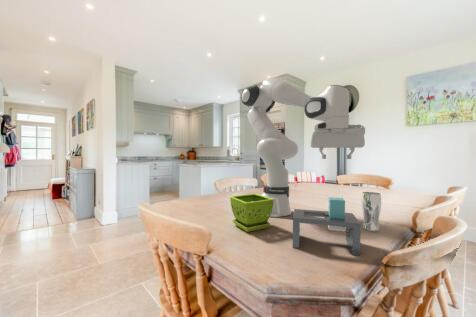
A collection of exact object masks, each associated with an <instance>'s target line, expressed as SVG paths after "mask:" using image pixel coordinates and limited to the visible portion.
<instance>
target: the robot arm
mask: <svg viewBox="0 0 476 317" xmlns="http://www.w3.org/2000/svg"><path fill="white" fill-rule="evenodd" d="M240 95H241V96H240V100H241V103H242V104H243V105H244V106H247V107H251V109H250V110H248V112H247V116H246V117H247V120H248V123H249V125H250V127H251V130H252V131H253V132H254V134H255V135H256V137H257V138H258V140H259V142H258V143H257V145H256V152H257V155H258V157H259V158H260V159H261V160H262V161H263V164H264V166H265V169H266V184H265V185H263V190H262V191H263V192H262V193H261V194H260V195H262V196H265V197H268V198H271V199H273V208H272V212H271V215H270V217H269V218H280V217H286V216H289V215H292V210H291V206H290V198H289V197H290V186H289V171H288V169H287V168H286V167H285V166H284V163H283V160H289V159H292V158H294V157H296V156H297V154H298V151H299V150H298V149H299V147H298V145H297V143H296V142H295V141H294V140H292V139H290V138H288V137H287V136H286V135H285V134H284V133H283V132H282V131H280V129H278V128H277V126H275V124H274V123H273V122H272V120H271V119H270V117H269V116H268V113H270V111H271V110H272V109H273V108H274V106H275V104H276V103H277V104H282V105H286V106H295V107H300V108H303V109H304V112H303V113H304V114H305V116H306V117H307V118H308V119H310V120H315V121H321V122H318V123H316V124H315V125H314V126H313V129H314V130H313V132H312V134H311V140H310V147H311V148H312V149H315V148H316V149H318V151H319V153H320V154H321V159H322V160H326V159H327V154H324V152H323V151H324V149H325V148H327V149H329V148H332V149H334V148H335V149H336V148H337V149H339V148H341V149H342V148H344V149H346V148H347V149H348V148H349V151H350V152H349V153H348V154H346V160H352V155H353V154H354V152H355V151H356V150H355V148H363V147H365V145H366V140H365V134H366V128H365V126H364V125H362V124H350V123H349V122H350V120H349V119H350V117H349V108H350V97H349V90H348V88H347V87H346V86H343V85H339V84H332V85H328V86H327V87H326V89H325V90H324V91H322V92H321V93H320V94H317V95H316V96H312V95H308V94H307V93H305V92H303V91H301V90H300V89H299V88H297V87H295V86H294V85H293V84H290V83H289V82H288V81H285V80H282V79H280V78H275V77H268V78H265V80H264V81H263V82H262V84H261V85H259V86H258V85H256V84H255V85H252V86H248V87H247V86H246V87H245V88H244V89H243V90H242V92H241V94H240ZM259 211H260V210H259Z"/></svg>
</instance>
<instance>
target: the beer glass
mask: <svg viewBox="0 0 476 317" xmlns="http://www.w3.org/2000/svg"><path fill="white" fill-rule="evenodd" d="M381 194H382V193H381V192H376V191H375V192H374V191H362V194H361V209H362V210H361V211H362V216H363V224H362V230H364V231H368V232H375V233H376V232H377V233H378V232H380V224H379V223H380V222H379V219H380V214H381V212H382V211H381V210H382V195H381Z"/></svg>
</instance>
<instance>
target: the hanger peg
mask: <svg viewBox="0 0 476 317" xmlns="http://www.w3.org/2000/svg"><path fill="white" fill-rule="evenodd" d="M328 211H329V217H330V218H340V219H345V213H346V200H345V199H344V198H343V197H337V196H336V197H333V196H329V197H328ZM327 228H328V230H329V231H338V232H346V227H340V226H329V225H327Z"/></svg>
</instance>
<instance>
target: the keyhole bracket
mask: <svg viewBox="0 0 476 317" xmlns="http://www.w3.org/2000/svg"><path fill="white" fill-rule="evenodd" d="M301 224H307V225H308V224H309V225H319V226H320V225H322V226H328V225H329V226H340V227H346V231H345V242H346V243H347V246H348V248H349V250H350V253H351V254H352V256H357V257H361V222H360V221H359V220H358V219H357V217H356V216H355V215H354V213H352V212H345V219H340V218H330V217H329V210H327V211H326V210H325V211H324V210H314V209H299V208H294V210H293V216H292V249H300V238H301V237H300V236H301V232H300V231H301Z"/></svg>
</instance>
